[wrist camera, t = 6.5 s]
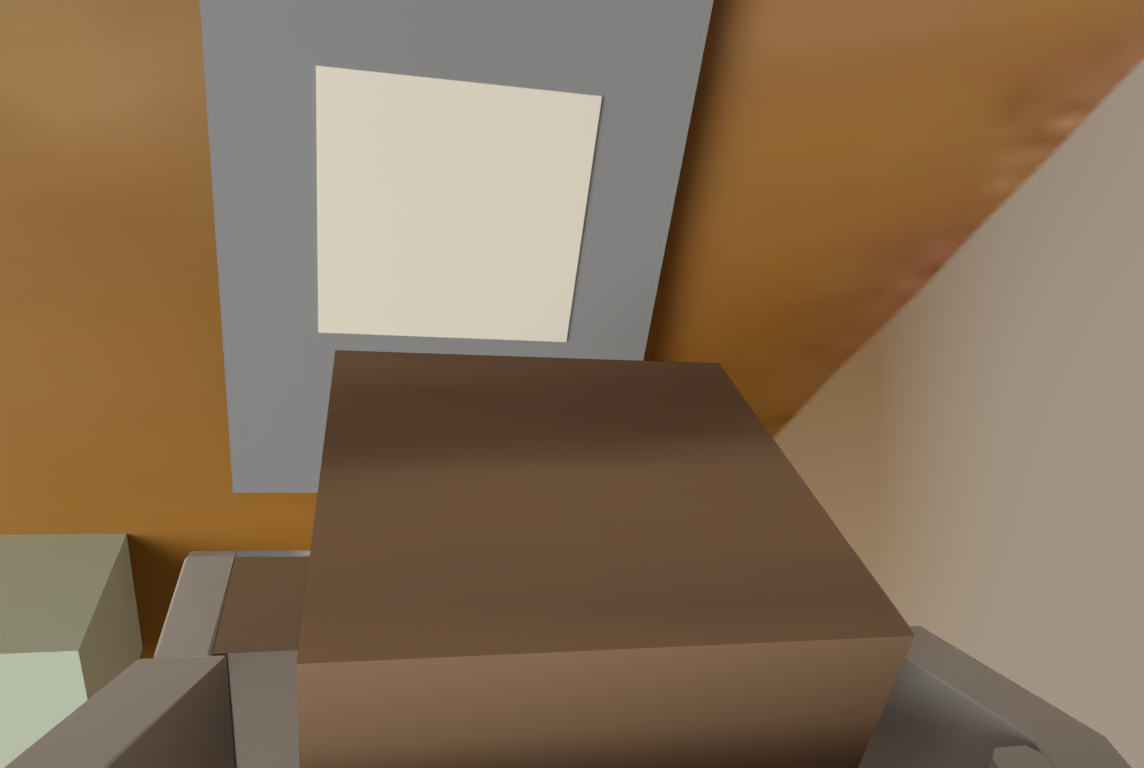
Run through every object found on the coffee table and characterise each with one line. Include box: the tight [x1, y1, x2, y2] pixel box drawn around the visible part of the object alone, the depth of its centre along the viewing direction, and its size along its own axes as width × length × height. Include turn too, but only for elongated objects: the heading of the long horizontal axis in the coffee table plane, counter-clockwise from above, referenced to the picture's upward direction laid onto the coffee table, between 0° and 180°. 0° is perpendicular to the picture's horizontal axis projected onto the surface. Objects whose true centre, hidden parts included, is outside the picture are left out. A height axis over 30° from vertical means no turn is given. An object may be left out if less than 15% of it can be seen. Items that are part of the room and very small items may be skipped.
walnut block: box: [296, 350, 915, 768], centre depth 10 cm, size 5×5×5 cm
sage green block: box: [0, 534, 143, 768], centre depth 25 cm, size 5×5×5 cm
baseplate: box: [200, 0, 714, 493], centre depth 23 cm, size 18×12×1 cm, turn 172°
